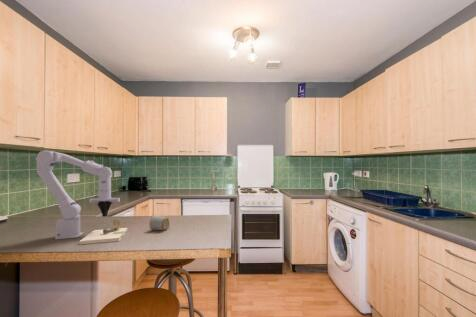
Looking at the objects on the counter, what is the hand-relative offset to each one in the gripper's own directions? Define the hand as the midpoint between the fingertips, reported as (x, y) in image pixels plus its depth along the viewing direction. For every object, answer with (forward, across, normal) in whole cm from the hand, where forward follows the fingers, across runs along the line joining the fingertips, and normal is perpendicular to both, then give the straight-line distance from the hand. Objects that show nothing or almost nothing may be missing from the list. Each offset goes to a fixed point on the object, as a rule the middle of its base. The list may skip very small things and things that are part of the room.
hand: (104, 216), depth 122 cm
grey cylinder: (+9, -28, -4) cm, 29 cm away
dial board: (+9, -4, +7) cm, 12 cm away
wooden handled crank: (+7, -5, +4) cm, 9 cm away
